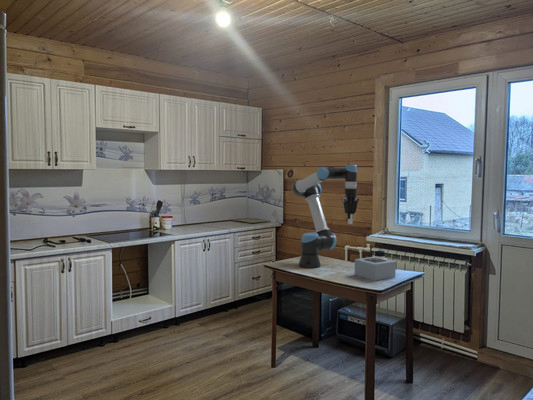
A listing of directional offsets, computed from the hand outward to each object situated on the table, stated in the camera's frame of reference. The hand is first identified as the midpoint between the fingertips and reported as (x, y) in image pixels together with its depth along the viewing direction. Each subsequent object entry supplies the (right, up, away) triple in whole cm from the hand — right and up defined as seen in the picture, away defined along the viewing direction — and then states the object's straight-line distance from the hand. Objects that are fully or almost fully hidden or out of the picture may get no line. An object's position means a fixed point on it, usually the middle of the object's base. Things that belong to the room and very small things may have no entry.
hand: (350, 223), depth 279 cm
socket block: (+14, -33, -8) cm, 37 cm away
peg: (+14, -31, -8) cm, 35 cm away
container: (+22, -32, +10) cm, 40 cm away
